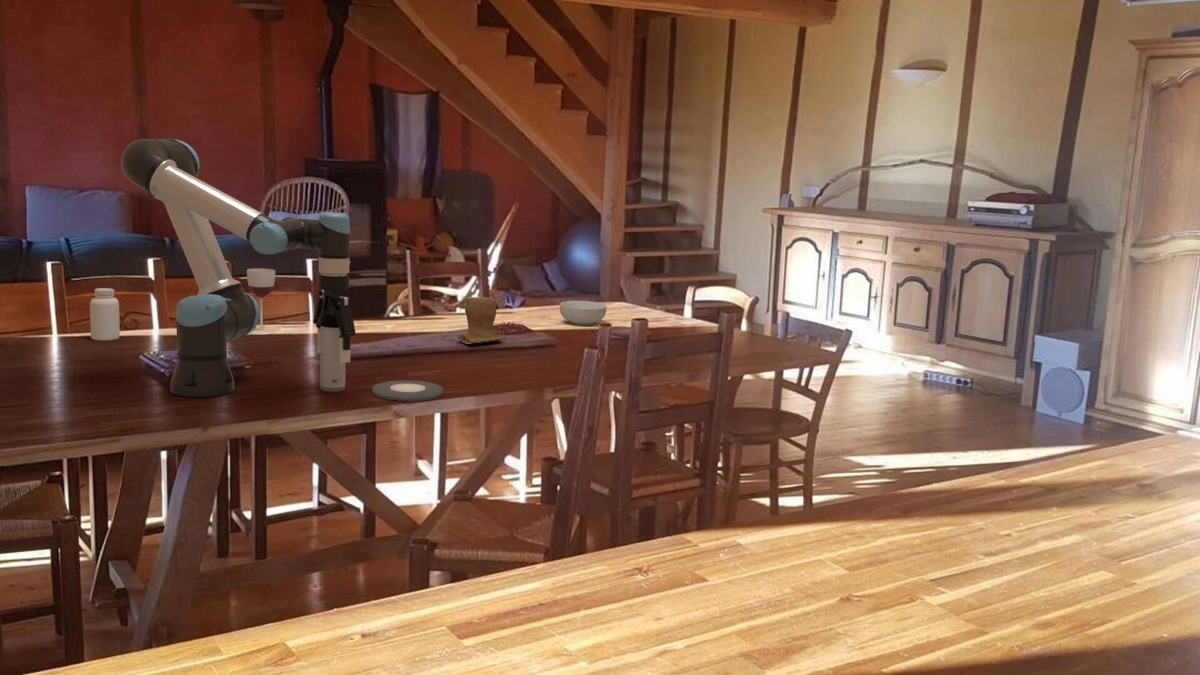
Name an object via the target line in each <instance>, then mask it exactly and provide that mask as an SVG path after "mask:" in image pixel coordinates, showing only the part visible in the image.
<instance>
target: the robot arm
mask: <svg viewBox="0 0 1200 675" xmlns="http://www.w3.org/2000/svg"><path fill="white" fill-rule="evenodd" d="M200 165H201V164H200V160H199V157H198V154H197V152H196V150H195V149H193V147H192V146H190V145H189V144H188V143H186V142H184V141H182V140H179V139H175V138H170V137H169V138H156V139H155V138H151V139H150V138H141V139H136V140H134V141H132V142H130V143H129V144H128V145H127V146H126V147H125V148H124V150H123V152H122V154H121V158H120V167H121V169H122V172H123V175H124V176H125V177H126V179H128V181H129V182H131V183H132V184H134V185H135V186H137V187H139V188H140V189H142V190H144V191H146V192H148V193H149V194H151V195H152V196H154V198H155V199H157V200H159V201H161V202H163V204H164V206H165V208H166V211H167V214H168V216H169V218H170V221H171V224H172V226H173V228H174V231H175V233H176V235H177V238H178V240H179V242H180V243H179V244H180V245H181V248H182V251H183V252H184V256H185V257H186V260H187V262H188V264H189V267H190V270H191V272H192V274H193V277H194V279H195V283H196V285H197V286H198V290H199V291H198V293H197V295H190V296H186V297H184V298H182V299H181V300H179V301H178V303H177V304H176V313H175V320H176V323H175V324H176V352H177V354H176V357H177V358H176V359H177V360H176V364H175V367H174V370H173V373H172V377H171V379H170V383H169V384H170V388H169V389H170V393H171V394H173V395H176V396H181V397H188V398H189V397H191V398H211V397H212V398H213V397H218V396H224V395H228V394H231V393H233V392H234V391H235V388H236V387H235V379H234V375H233V373H232V370H231V368H230V364H229V362H228V355H227V353H228V348H227V346H228V342H232V341H235V340H238V339H241V338H244V337H246V336H247V335H248V334H251V333H250V332H252V331H253V330H255V328H256V327H257V325H258V324H259V322H260V305H259V304H258V302H257V300H256V299H255V298H254V297H253V296H252V295H250V294H249V293H247V292H245V290H244V288H243V285H242V283H241V281H239V280H236V279H235V278H233V276H232V274H231V272H230V270H229V267H228V265H227V262H226V260H225V257H224V255H223V252H222V250H221V247H220V245H219V243H218V240H217V237H216V236H215V232H214V230H213V227H212V226H211V223H210V221H211V222H213V223H214V224H215V225H218V226H220V227H221V228H223V229H225V230H227V231H229V232H230V233H233V234H235V235H236V236H238V237H240V238H242V239H244V240H246V241H247V242H250V245H251V246H252V248H253V249H254V250H255V251H256V252H257V253H259V254H261V255H275V254H279V253H283V252H286V251H287V252H288V251H291V250H297V249H305V250H306V249H307V250H308V249H310V250H318V273H320V274H319V275H318V288H319V290H317V300H316V305H315V309H314V314H313V320H312V324H313V325H315V327H316V330H317V331H316V332H317V334H316V336H317V337H316V338H317V340H316V343H317V345H316V346H317V347H316V349H317V352H316V353H317V354H320V332H321V316H324V315H328V314H335V316H336V320H337V323H338V327H339V330H340V333H341V334H340V336H339V363H345V364H346V363H351V345H352V344H351V343H352V342H351V338H352V337H355V336H356V329H355V323H354V322H355V321H354V318H353V311H352V310H353V309H352V300H351V297H350V296H345V292H346V291H348V290H349V289H350V276H349V275H348V274H349V273H350V264H351V260H350V246H351V245H350V244H351V243H350V241H351V239H350V238H351V228H350V226H351V225H350V216H349V215H348V214H347V213H345V212H332V211H330V212H329V211H323V212H320V213H319V215H318V219H309V218H308V219H307V218H297V217H292V216H287V217H286V216H285V217H282V216H281V217H277V218H275V219H273V218H271V217H269V216H267V215H265V214H264V213H262V212H260V211H258V210H256V209H255V208H253V207H252V206H250V205H247V204H246V203H244V202H242V201H241V200H238V199H236V198H235V197H233V196H231V195H229V194H228V193H227V194H226V193H225V192H224V191H221V190H220V189H218V188H216V187H214V186H212V185H211V184H208V183H207V182H204V181H202V180H201V179H199V177H198V175H199V170H200Z"/></svg>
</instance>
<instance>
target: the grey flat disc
mask: <svg viewBox="0 0 1200 675" xmlns="http://www.w3.org/2000/svg"><path fill="white" fill-rule="evenodd" d="M371 392H372V395H373V396H374V397H376V398H378V399H381V398H383V399H382V400H385V399H388V400H387V401H391V400H397V401H396V402H403V401H408V402H412V403H413V402H415V403H416V402H426V401H427V402H428V401H432V400H435V399H439V398H441V397H442V396H443V395H444V388H443V387H442V386H441V385H439V384H437V383H433V382H430V381H422V380H408V379H406V380H403V379H402V380H389V381H382V382H380V383H376V384H374V385H373V386H372V389H371Z"/></svg>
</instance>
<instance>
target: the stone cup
mask: <svg viewBox="0 0 1200 675" xmlns="http://www.w3.org/2000/svg"><path fill="white" fill-rule="evenodd" d="M464 313H465V315H466V320H467V321H466V322H467V326H468V327H467V328H468V330H467V331H466V332H464V333H461V334H459V335H457V339H458V340H459V339H460V340H463V341H465V342H467V343H478V342H487V341H493V342H496V341H495V340H498V341H500V339H502V340H503V339H504V337H503V336H501V335H499V334H497V333H495V332H494V328H493V327H494V322H495V320H496V318H497V317H496V316H497V302H496V299H495V297H480V296H479V297H478V296H473V297H472V296H471V297H470V296H469V297H467V298H466V299H465V301H464ZM460 340H459V341H460ZM487 343H488V342H487Z"/></svg>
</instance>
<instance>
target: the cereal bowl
mask: <svg viewBox="0 0 1200 675" xmlns="http://www.w3.org/2000/svg"><path fill="white" fill-rule="evenodd" d="M559 312H560V315H561V317H562V318H563V319H565V320H566V321H569V322H570V323H571V324H573V325H576V326H592V325H593V324H594V323H599V322H601V321H602V320H603V319H604V318H605V316H606V313H607V305H606V304H604V303H602V302H596V301H589V300H588V301H587V300H567V301H561V302H560V303H559Z"/></svg>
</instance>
